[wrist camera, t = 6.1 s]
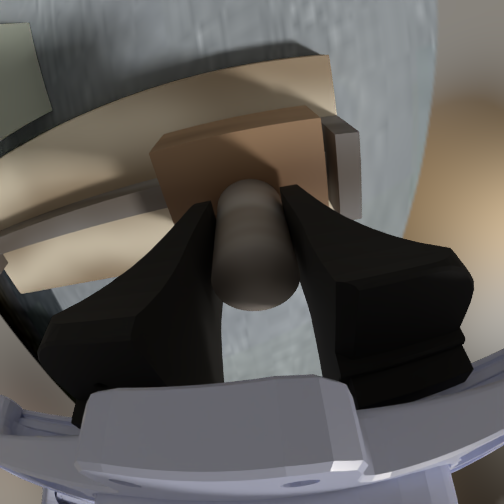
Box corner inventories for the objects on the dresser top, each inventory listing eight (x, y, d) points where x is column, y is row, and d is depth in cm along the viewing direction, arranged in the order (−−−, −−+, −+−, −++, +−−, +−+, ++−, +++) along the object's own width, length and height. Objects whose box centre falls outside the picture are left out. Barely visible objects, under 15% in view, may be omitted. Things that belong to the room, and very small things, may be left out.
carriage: (319, 225, 15) (358, 327, 10) (200, 247, 16) (187, 355, 10) (305, 104, 12) (364, 157, 6) (163, 134, 12) (109, 208, 7)
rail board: (337, 221, 19) (360, 268, 15) (28, 281, 20) (5, 321, 17) (320, 54, 13) (351, 57, 9) (-30, 177, 14) (-67, 208, 11)
